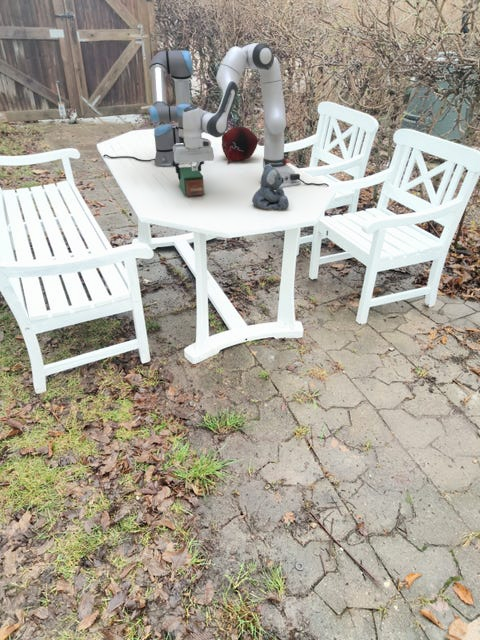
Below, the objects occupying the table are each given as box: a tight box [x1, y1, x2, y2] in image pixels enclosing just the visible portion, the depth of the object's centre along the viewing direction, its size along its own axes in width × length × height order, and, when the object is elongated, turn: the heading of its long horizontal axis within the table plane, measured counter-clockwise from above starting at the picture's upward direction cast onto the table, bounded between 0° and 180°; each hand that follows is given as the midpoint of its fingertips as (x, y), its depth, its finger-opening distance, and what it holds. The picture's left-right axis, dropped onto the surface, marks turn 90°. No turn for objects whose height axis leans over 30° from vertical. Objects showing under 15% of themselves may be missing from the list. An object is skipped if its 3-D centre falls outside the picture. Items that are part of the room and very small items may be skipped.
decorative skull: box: [221, 126, 259, 165], centre depth 296 cm, size 21×24×25 cm
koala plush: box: [251, 164, 290, 211], centre depth 224 cm, size 17×18×20 cm
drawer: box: [186, 178, 205, 197], centre depth 243 cm, size 24×9×8 cm, turn 15°
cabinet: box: [178, 165, 205, 197], centre depth 248 cm, size 19×10×10 cm, turn 15°
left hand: (189, 177), depth 253 cm, fingers closed on cabinet, 10 cm apart
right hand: (194, 170), depth 230 cm, fingers closed
